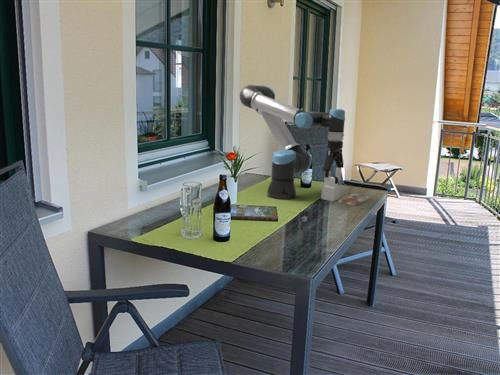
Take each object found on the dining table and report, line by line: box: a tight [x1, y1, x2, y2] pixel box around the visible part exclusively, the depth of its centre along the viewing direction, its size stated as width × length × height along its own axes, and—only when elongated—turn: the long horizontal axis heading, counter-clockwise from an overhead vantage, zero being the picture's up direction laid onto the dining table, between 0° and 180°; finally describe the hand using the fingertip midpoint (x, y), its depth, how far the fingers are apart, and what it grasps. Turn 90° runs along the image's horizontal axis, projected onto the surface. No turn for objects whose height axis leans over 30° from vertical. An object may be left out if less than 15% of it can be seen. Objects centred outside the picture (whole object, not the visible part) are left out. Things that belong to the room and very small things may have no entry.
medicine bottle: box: [320, 175, 341, 202], centre depth 253 cm, size 7×7×12 cm
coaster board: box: [337, 193, 370, 207], centre depth 253 cm, size 9×20×2 cm, turn 147°
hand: (332, 181), depth 252 cm, fingers open, 13 cm apart
